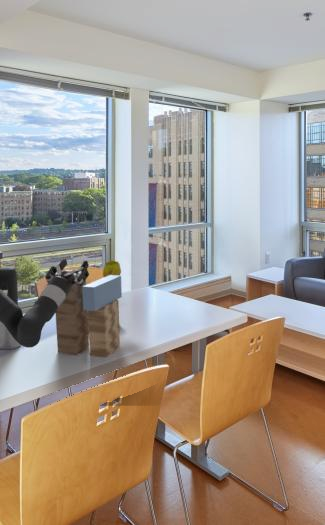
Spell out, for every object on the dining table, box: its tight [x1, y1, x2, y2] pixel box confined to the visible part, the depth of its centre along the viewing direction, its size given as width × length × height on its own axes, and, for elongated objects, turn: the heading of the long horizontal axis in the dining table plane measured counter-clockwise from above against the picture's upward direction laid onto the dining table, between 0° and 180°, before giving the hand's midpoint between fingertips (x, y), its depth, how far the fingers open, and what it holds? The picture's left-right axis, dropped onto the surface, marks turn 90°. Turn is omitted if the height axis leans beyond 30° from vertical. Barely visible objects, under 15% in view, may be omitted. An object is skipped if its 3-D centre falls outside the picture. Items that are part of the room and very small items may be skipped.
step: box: [88, 299, 121, 358], centre depth 187 cm, size 12×7×20 cm, turn 158°
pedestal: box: [55, 269, 90, 356], centre depth 188 cm, size 9×9×32 cm
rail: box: [82, 275, 123, 311], centre depth 185 cm, size 22×5×9 cm, turn 158°
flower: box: [102, 260, 122, 278], centre depth 223 cm, size 9×8×30 cm
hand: (76, 261), depth 165 cm, fingers open, 8 cm apart
